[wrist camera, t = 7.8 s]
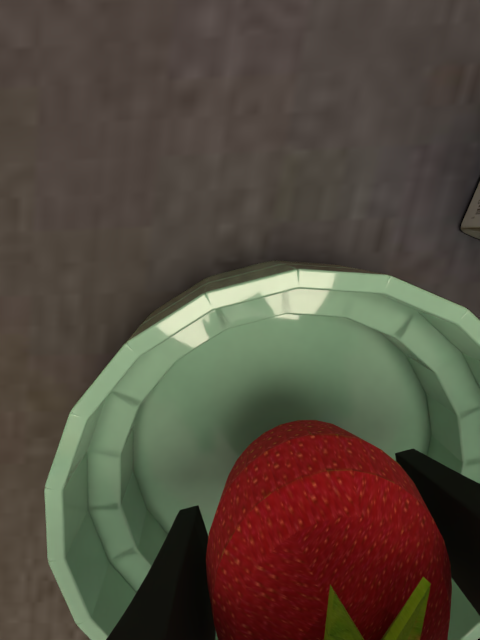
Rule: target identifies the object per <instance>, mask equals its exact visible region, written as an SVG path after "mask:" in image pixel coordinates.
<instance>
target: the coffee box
mask: <svg viewBox="0 0 480 640" xmlns="http://www.w3.org/2000/svg"><path fill="white" fill-rule="evenodd" d="M461 230H462V231H463V232H464V233H466V234H468V235H470V236H473V237H475V238H478V239H480V182H479V184H478V187H477V189H476V191H475V194H474V196H473V198H472V201H471V203H470V205H469V208H468V210H467V212H466V215H465V217H464V219H463V222H462V224H461Z"/></svg>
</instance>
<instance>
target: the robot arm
mask: <svg viewBox="0 0 480 640" xmlns="http://www.w3.org/2000/svg"><path fill="white" fill-rule="evenodd" d="M395 457H396V462H397V463H399V464H400V465H401V467H402V468H403V469H404V471H405V472H406V473H407V474H408V476H409V477H410V478H411V479H412V481H413V482H414V484H415V485H416V487H417V489H418V491H419V493H420V495H421V497H422V499H423V501H424V502H425V504H426V506H427V508H428V510H429V512H430V514H431V516H432V517H433V519H434V521H435V523H436V525H437V527H438V529H439V531H440V533H441V535H442V537H443V539H444V542H445V545H446V549H447V553H448V557H449V561H450V565H451V578H452V579H453V580H454V582H455V583H456V584H457V586H458V587H459V588H460V590H461V591H462V593H463V594H464V595H465V597H466V598H467V599H468V601H469V602H470V603H471V605H472V606H473V607H474V609H475V610H476V611H477V613H478V614H479V616H480V483H478V482H476V481H474V480H472V479H470V478H468V477H466V476H464V475H462V474H460V473H458V472H456V471H454V470H452V469H450V468H449V467H447V466H445V465H443V464H441V463H439V462H437V461H436V460H434V459H432V458H430V457H428V456H427V455H425V454H423V453H421V452H419V451H417V450H415V449H409V450H405V451H401V452H398V453H395ZM207 544H208V534H207V530H206V527H205V524H204V521H203V518H202V515H201V512H200V509H199V505H197V506H193V507H189V508H185V509H181V510H180V511H179V512H178V514H177V516H176V518H175V520H174V522H173V524H172V527H171V529H170V531H169V533H168V535H167V537H166V539H165V541H164V543H163V545H162V547H161V549H160V551H159V553H158V555H157V557H156V559H155V560H154V562H153V564H152V566H151V568H150V570H149V572H148V574H147V575H146V577H145V579H144V581H143V582H142V584H141V586H140V587H139V589H138V591H137V593H136V594H135V596H134V598H133V599H132V601H131V603H130V604H129V606H128V607H127V609H126V611H125V612H124V614H123V615H122V617H121V618H120V620H119V621H118V623H117V624H116V626H115V627H114V629H113V630H112V632H111V633H110V635H109V636H108V638H107V639H106V640H215V637H216V629H215V626H214V620H213V614H212V608H211V602H210V596H209V590H208V584H207V571H206V552H207Z"/></svg>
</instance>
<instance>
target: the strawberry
mask: <svg viewBox="0 0 480 640" xmlns="http://www.w3.org/2000/svg"><path fill="white" fill-rule="evenodd" d="M206 571H207V584H208V590H209V596H210V602H211V608H212V614H213V620H214V626H215V629H216V633H217V637H218V640H447V639H448V631H449V623H450V611H451V596H452V580H451V565H450V561H449V557H448V553H447V549H446V545H445V542H444V539H443V537H442V535H441V533H440V531H439V529H438V527H437V525H436V523H435V521H434V519H433V517H432V516H431V514H430V512H429V510H428V508H427V506H426V504H425V502H424V501H423V499H422V497H421V495H420V493H419V491H418V489H417V487H416V485H415V484H414V482H413V481H412V479H411V478H410V477H409V476H408V474H407V473H406V472H405V471H404V469H403V468H402V467H401V465H400V464H399V463H397V462H396V461H395V460H394V459H393V458H391V457H390V456H389V455H388V454H386V453H385V452H384V451H383V450H381V449H380V448H378V447H376V446H374V445H372V444H370V443H369V442H367V441H365V440H363V439H361V438H359V437H358V436H356V435H354V434H352V433H350V432H348V431H346V430H344V429H342V428H340V427H338V426H336V425H334V424H331V423H327V422H322V421H318V420H297V421H293V422H289V423H285V424H281V425H278V426H276V427H274V428H272V429H270V430H268V431H267V432H265V433H263V434H262V435H261V436H259V437H258V438H257V439H256V440H254V441H253V442H252V443H251V444H249V446H248V447H247V448H246V449H245V450H244V452H243V453H242V454H241V455H240V456H239V458H238V459H237V461H236V462H235V464H234V466H233V468H232V470H231V472H230V473H229V475H228V478H227V481H226V484H225V487H224V490H223V492H222V495H221V498H220V501H219V504H218V507H217V510H216V513H215V516H214V519H213V522H212V525H211V528H210V531H209V536H208V544H207V552H206Z"/></svg>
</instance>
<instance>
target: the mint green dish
mask: <svg viewBox="0 0 480 640" xmlns="http://www.w3.org/2000/svg"><path fill="white" fill-rule="evenodd" d="M297 420H318V421H322V422H327V423H331V424H334V425H336V426H338V427H340V428H342V429H344V430H346V431H348V432H350V433H352V434H354V435H356V436H358V437H359V438H361V439H363V440H365V441H367V442H369V443H370V444H372V445H374V446H376V447H378V448H380V449H381V450H383V451H384V452H385V453H386V454H388V455H389V456H390V457H391V458H393V459H394V460H395V461H396V457H395V453H398V452H401V451H405V450H409V449H415V450H417V451H419V452H421V453H423V454H425V455H427V456H428V457H430V458H432V459H434V460H436V461H437V462H439V463H441V464H443V465H445V466H447V467H449V468H450V469H452V470H454V471H456V472H458V473H460V474H462V475H464V476H466V477H468V478H470V479H472V480H474V481H476V482H478V483H480V320H479V319H478V318H477V317H476V316H475V315H474V314H473V313H472V312H471V311H469V310H468V309H466V308H465V307H463V306H461V305H458V304H456V303H454V302H452V301H449V300H447V299H445V298H442V297H440V296H438V295H435V294H433V293H431V292H428V291H426V290H424V289H421V288H419V287H417V286H414V285H412V284H410V283H407V282H405V281H403V280H400V279H398V278H396V277H393V276H391V275H387V274H381V273H376V272H371V271H366V270H361V269H356V268H351V267H346V266H341V265H333V264H319V263H305V262H290V261H276V260H275V261H268V262H264V263H260V264H256V265H252V266H249V267H245V268H241V269H237V270H233V271H229V272H225V273H221V274H217V275H213V276H209V277H208V278H205V279H204V280H202V281H201V282H199V283H197V284H196V285H194V286H193V287H191V288H190V289H188V290H186V291H185V292H183V293H182V294H180V295H179V296H177V297H175V298H174V299H172V300H171V301H169V302H167V303H166V304H164V305H163V306H161V307H160V308H158V309H156V310H155V311H153V312H152V313H151V314H150V315H149V316H148V317H147V318H146V320H145V321H144V322H143V323H142V324H141V325H140V327H139V328H138V329H137V330H136V331H135V332H134V333H133V335H132V336H131V337H130V338H129V339H128V340H127V341H126V343H125V344H124V345H123V346H122V347H121V349H120V350H119V351H118V352H117V354H116V355H115V356H114V357H113V358H112V360H111V361H110V362H109V363H108V365H107V366H106V367H105V368H104V370H103V371H102V372H101V373H100V375H99V376H98V377H97V378H96V380H95V381H94V382H93V383H92V385H91V386H90V387H89V388H88V389H87V391H86V392H85V393H84V394H83V396H82V397H81V398H80V399H79V401H78V402H77V403H76V404H75V406H74V407H73V408H72V409H71V412H70V413H69V416H68V419H67V422H66V425H65V428H64V431H63V434H62V436H61V439H60V442H59V445H58V448H57V451H56V454H55V457H54V460H53V463H52V466H51V469H50V472H49V475H48V478H47V481H46V484H45V489H44V492H45V513H46V535H47V556H48V561H49V562H48V563H49V566H50V568H51V570H52V572H53V574H54V577H55V579H56V581H57V583H58V586H59V588H60V590H61V592H62V594H63V597H64V599H65V601H66V603H67V606H68V608H69V610H70V612H71V614H72V617H73V619H74V621H75V623H76V624H77V626H78V627H79V628H80V629H81V630H82V631H83V632H84V633H85V634H86V635H87V636H88V637H89V638H90V639H91V640H106V639H107V638H108V636H109V635H110V633H111V632H112V630H113V629H114V627H115V626H116V624H117V623H118V621H119V620H120V618H121V617H122V615H123V614H124V612H125V611H126V609H127V607H128V606H129V604H130V603H131V601H132V599H133V598H134V596H135V594H136V593H137V591H138V589H139V587H140V586H141V584H142V582H143V581H144V579H145V577H146V575H147V574H148V572H149V570H150V568H151V566H152V564H153V562H154V560H155V559H156V557H157V555H158V553H159V551H160V549H161V547H162V545H163V543H164V541H165V539H166V537H167V535H168V533H169V531H170V529H171V527H172V524H173V522H174V520H175V518H176V516H177V514H178V512H179V511H180V510H181V509H185V508H189V507H193V506H197V505H199V509H200V512H201V515H202V518H203V521H204V524H205V527H206V530H207V534H208V536H209V531H210V528H211V525H212V522H213V519H214V516H215V513H216V510H217V507H218V504H219V501H220V498H221V495H222V492H223V490H224V487H225V484H226V481H227V478H228V475H229V473H230V472H231V470H232V468H233V466H234V464H235V462H236V461H237V459H238V458H239V456H240V455H241V454H242V453H243V452H244V450H245V449H246V448H247V447H248V446H249V444H251V443H252V442H253V441H254V440H256V439H257V438H258V437H259V436H261V435H262V434H263V433H265V432H267V431H268V430H270V429H272V428H274V427H276V426H278V425H281V424H285V423H289V422H293V421H297ZM451 580H452V596H451V611H450V623H449V631H448V639H447V640H478V639H479V638H480V616H479V614H478V613H477V611H476V610H475V609H474V607H473V606H472V605H471V603H470V602H469V601H468V599H467V598H466V597H465V595H464V594H463V593H462V591H461V590H460V588H459V587H458V586H457V584H456V583H455V582H454V580H453V579H452V578H451ZM215 640H218V637H217V633H216V637H215Z"/></svg>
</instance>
